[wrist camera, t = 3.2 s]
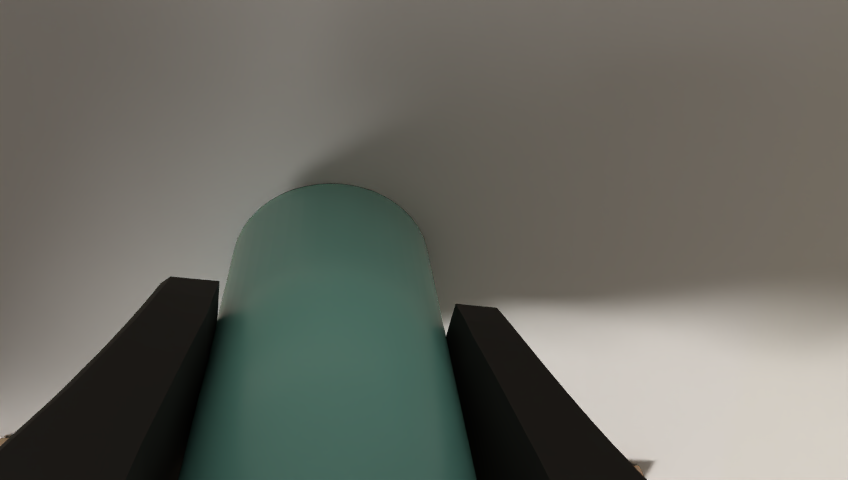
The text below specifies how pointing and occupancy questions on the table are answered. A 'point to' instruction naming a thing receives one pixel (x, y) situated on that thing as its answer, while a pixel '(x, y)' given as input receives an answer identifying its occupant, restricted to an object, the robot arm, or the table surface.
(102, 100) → the table surface
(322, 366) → the cylindrical container
